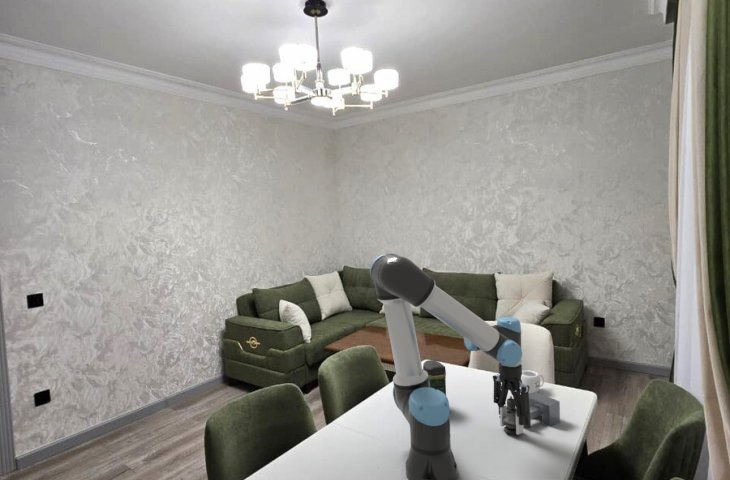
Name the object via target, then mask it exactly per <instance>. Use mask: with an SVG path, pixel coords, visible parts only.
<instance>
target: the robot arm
mask: <svg viewBox="0 0 730 480" xmlns="http://www.w3.org/2000/svg"><path fill="white" fill-rule="evenodd" d="M369 275H370V279H371V282H372V283H373V284H374V287H375V288H374V289H375V293H376V298H377V301H379V302H380V303H382V305H383V310H384V314H385V320H386V325H387V326H386V327H387V331H388V335H389V341H390V346H391V352H392V353H391V354H392V357H393V358H392V359H393V363H394V369H395V374H394V376H393V378H392V382H393V386H392V387H393V388H392V396H393V397H392V398H393V400H394V403H395V405H396V407H397V408H398V409H399V411H400V412H401V414H402V415H403V417H404V418H405V420H406V421H407V423H408V424H409V431H410V432H409V433H410V435H409V436H410V449H409V452H408V457H407V458H406V462H405V475H406V477H407V479H408V480H458V474H459V473H458V465H457V462H456V459H455V456H454V454H453V451H452V448H451V418H450V417H451V408H450V407H451V406H450V402H449V398H448V397H447V394H446V395H445V394H444V393H443V392H441V391H439V390H435V389H434V388H430V382H429V377H428V373H427V372H426V371H425V370H423V365H422V360H421V356H420V350H419V345H418V344H419V343H418V339H417V334H416V333H417V332H416V328H415V327H416V326H415V321H414V317H413V312H412V311H413V310H412V306H413V307H415V308H419V307H421V309H424V310H425V311H426V312H427V313H430V314H431V315H432V316H434V317H435V318H436V319H438V320H439V321H440V322H442V323H444V324H445V325H446V326H448V328H451V329H452V330H453V331H454V332H456V333H458V335H460V336H462V337H463V343H464V346H465V347H466V349H467V350H468V351H470V352H478V351H481V352H483V353H484V354H486V355H487V356H489V357H491V358H492V359H494V360H495V361H497V362H498V374H495V375H493V376H492V379H493V403H494V404H496V405H497V406H498V415H499V416H500V418H499V419H500V424H499V425H500V427H503V428H504V427H505V424H504V421H503V417H505V416H507V410H506V407H507V399H508V394H509V391H510V394H511V396H512V398H513V399H514V401H515V406H516V409H517V413H518V414H517V415H516V434H515V435H518V436H519V435H520V434H523V433H524V426H523V425H524V424H525V416H527V415H529V414H530V406H529V389H530V387H529V386H528V385H527V386H525V385H524V384H523V383H522V380H521V375H522V371H523V365H522V361H523V360H522V358H523V350H522V325H521V321H520V319H519V318H516V317H511V316H502V317H499V318H497V322H496V325H490V324H489V323H488V322H486V321H485V320H484V319H482V318H481V317H479V316H478V315H477V314H475V313H474V312H473V311H471V310H470V309H468V307H466V306H464V304H462V303H461V302H459V300H456V299H455V298H454V297H452V296H451V295H450V294H448V293H447V292H445V291H444V290H442V289H441V288H440V287H438V286H437V285H436V281H435V279H434V278H432V277H431V276H430V275H428V274H427V273H426V272H424V270H423V269H421V268H420V267H419V266H418V265H417V264H415V263H414V262H413V261H412V260H411V259H409V258H407V257H405V256H400V255H398V254H395V253H385V254H381V255H379V256H377V257H376V258H375V259H374V260H373V261H372V263H371V266H370V269H369Z"/></svg>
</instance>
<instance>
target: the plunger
mask: <svg viewBox="0 0 730 480" xmlns="http://www.w3.org/2000/svg"><path fill="white" fill-rule="evenodd" d="M517 414H518V413H517V411H516V415H517ZM540 416H542V408H540V407H538V406H534V407H531V408H530V414H529V415H527V416H525V424H524V425H523V427H525V428H528V429H530V428H531V427H532V423H531V422H532V420H533V419H536V418H538V417H540Z"/></svg>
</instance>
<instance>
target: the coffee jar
mask: <svg viewBox="0 0 730 480" xmlns="http://www.w3.org/2000/svg"><path fill="white" fill-rule="evenodd" d="M422 369H423V370H425V371H426V372H427V373H428V377H429V382H430V388H434V389H435V390H439V391H441V392H443V393H444V394H445V395H446V396H447V385H446V380H447V379H446V378H447V377H446V375H447V371H446V366H445V365H443V364H442V363H441V362H439V361H438V360H435V359H431V360H426V361H424V362H423V365H422Z"/></svg>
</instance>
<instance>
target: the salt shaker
mask: <svg viewBox="0 0 730 480" xmlns="http://www.w3.org/2000/svg"><path fill="white" fill-rule="evenodd" d="M506 406H507V407H506V410H507V416H505V417H503V421H504V424H505V426H503V431H504V432H505V433H507V434H511V435H517V434H516V411H517V409H516V405H515V401H514V398H513V395H510V396H509V398H508V397H507V398H506Z"/></svg>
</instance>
